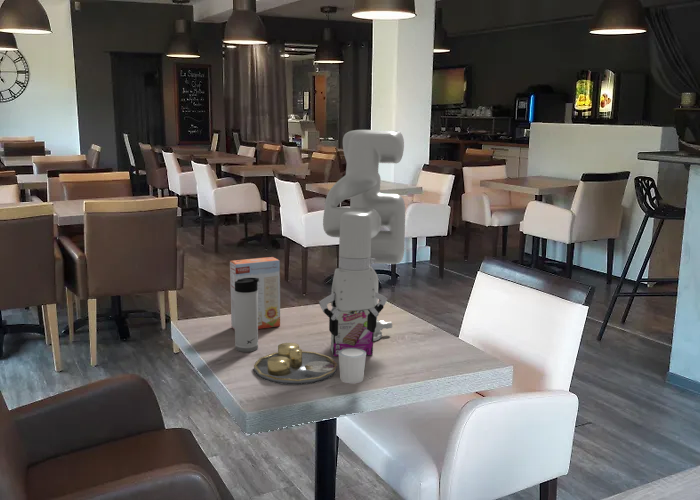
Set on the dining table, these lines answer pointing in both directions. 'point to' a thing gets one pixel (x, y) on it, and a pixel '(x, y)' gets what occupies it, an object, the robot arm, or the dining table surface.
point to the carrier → (295, 366)
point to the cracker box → (259, 288)
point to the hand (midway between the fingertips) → (352, 332)
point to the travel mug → (246, 314)
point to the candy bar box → (352, 332)
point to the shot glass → (352, 365)
